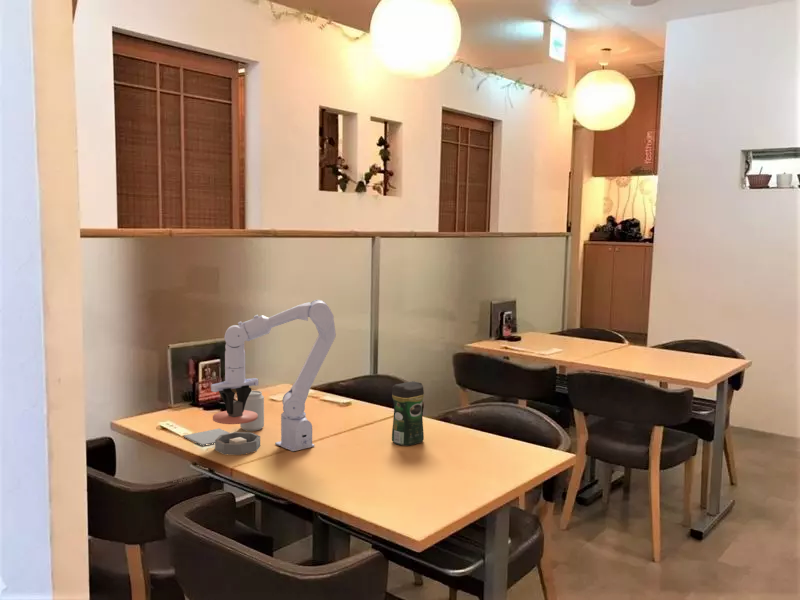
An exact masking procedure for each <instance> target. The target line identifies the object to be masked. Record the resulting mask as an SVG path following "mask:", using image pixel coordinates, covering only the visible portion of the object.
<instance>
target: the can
mask: <svg viewBox="0 0 800 600" xmlns="http://www.w3.org/2000/svg"><path fill="white" fill-rule="evenodd" d="M262 393H263V392H262V391H260V390H251V393H250V394H249V396H248V398H247V401H246V404H245V407H244V410H248V411H253V412H256V413H257V414H258V418H257V419H256V420H255V421H252V422H248V423H243V424H239V425H240V428H241V429H242V430H243V431H245V430H247V431H246V432H257V431H260V430H262V428H264V426H265V396H264V395H263V394H262Z"/></svg>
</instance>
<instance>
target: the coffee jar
mask: <svg viewBox="0 0 800 600" xmlns="http://www.w3.org/2000/svg"><path fill="white" fill-rule="evenodd" d="M424 391H425V390H424V385H423V384H422V383H421V382H418V381H415V380H414V381H413V380H412V381H407V382H402V383H396V384H394V385H393V386H392V394H391V397H392V400H393V418H392V419H393V420H392V429H391V441H392V442H393V443H394V444H395V445H397V446H405V447H408V446H412V445H416V444H419V443H423V442H424V440H425V439H424V438H425V437H424V435H425V434H424V423H423V421H424V420H423V401H424V397H425V392H424Z"/></svg>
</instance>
